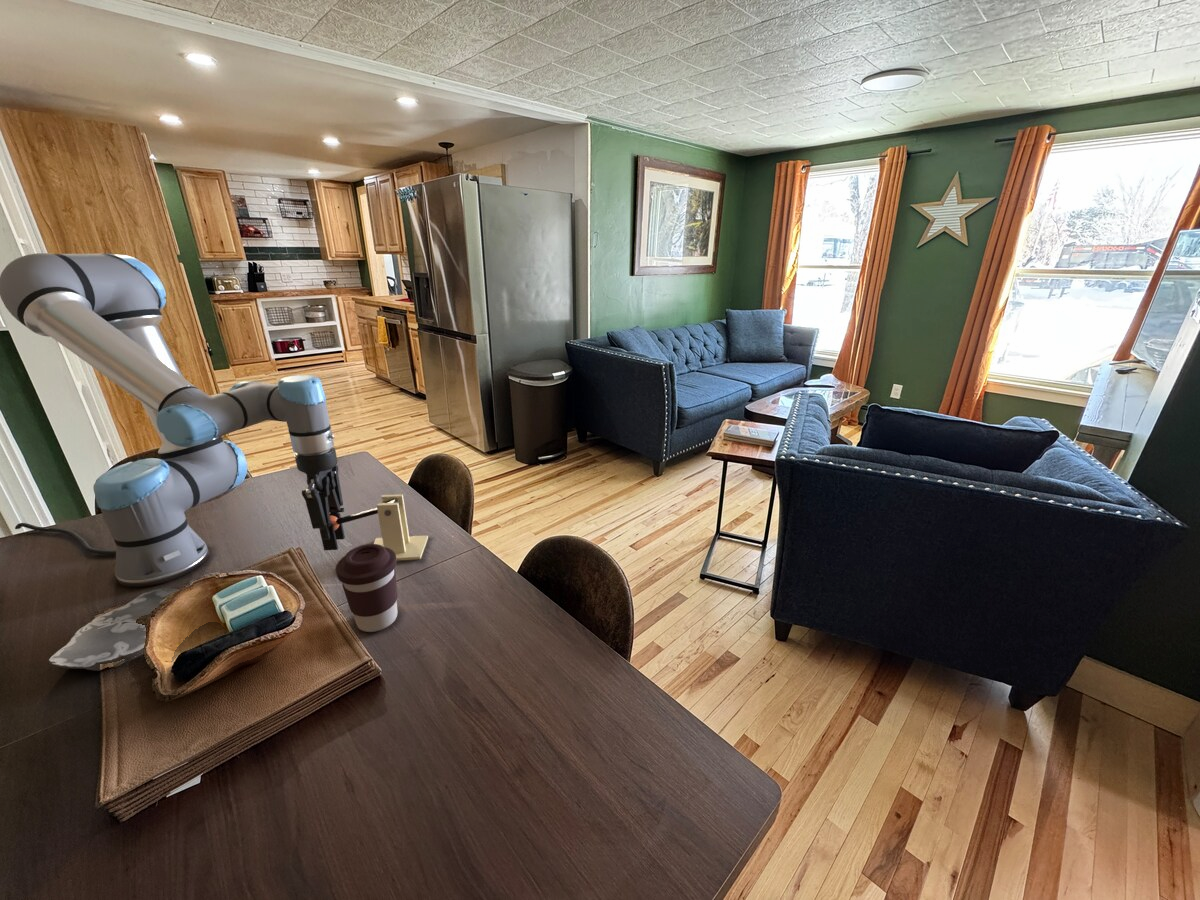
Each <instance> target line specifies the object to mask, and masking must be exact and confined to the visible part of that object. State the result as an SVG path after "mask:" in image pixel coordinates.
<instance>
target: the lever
mask: <svg viewBox="0 0 1200 900" xmlns="http://www.w3.org/2000/svg"><path fill="white" fill-rule="evenodd" d="M384 503H398V501H397V499H393V500H389V501H385V502H384ZM399 509H400V505H399ZM373 515H378V511H377V507H375V508H371V509H368V510H363V511H360V512H357V513H353V514H349V515H345V516H343V517H341V518H337V517H335V516H330V522H331V523H333V526H334V530H336V529H337V528H338V527H339V525H340V524H342V525H343V524H345V523H348V522H352V521H355V520H359V519H360V520H361V519H363V518H367V517H370V516H373Z"/></svg>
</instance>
